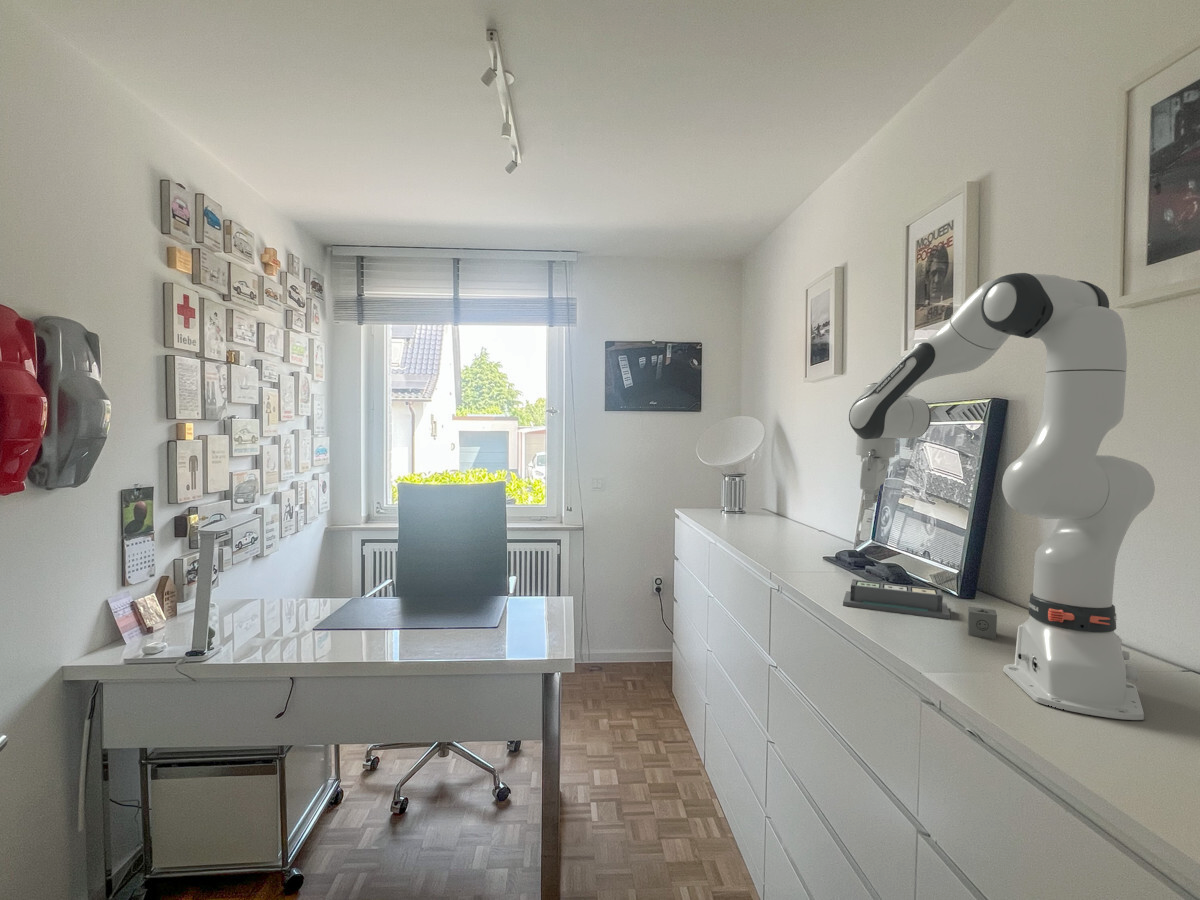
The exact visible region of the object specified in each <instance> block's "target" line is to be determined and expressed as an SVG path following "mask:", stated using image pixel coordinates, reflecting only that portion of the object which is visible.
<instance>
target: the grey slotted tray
mask: <svg viewBox="0 0 1200 900" xmlns="http://www.w3.org/2000/svg"><path fill="white" fill-rule="evenodd" d="M858 582H865V583H874V584H879V588H877V587H868V586H860V585H857V583H858ZM884 585H891V586H900V587H907V591H903V590H894V589H886V588H884ZM912 588H918V589H927V590H935V593H936V594H929V593H920V592H912ZM845 591H846V590H845ZM943 597H944V595H943V592H942V589H940V588H934V587H923V586H917V585H916V586H915V585H914V586H913V585H906V584H899V583H889V582H880V581H872V580H864V579H863V580H861V579H854V578H853V579H851V583H850V591H846V592H845V595H844V597H843V601H842V606H843V607H850V608H851V607H853V608H858V609H867V610H874V611H882V612H890V613H898V614H906V615H915V616H921V617H922V616H923V617H930V618H937V619H944V620H951V614H950V611H949V608H948V605H947V603H946V602H943V601H944V600H943V599H944V598H943Z"/></svg>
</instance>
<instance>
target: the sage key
mask: <svg viewBox="0 0 1200 900" xmlns="http://www.w3.org/2000/svg"><path fill="white" fill-rule="evenodd" d="M857 585H860V586H868V587H877V588H879V584H874V583H865V582H858V583H857Z"/></svg>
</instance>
